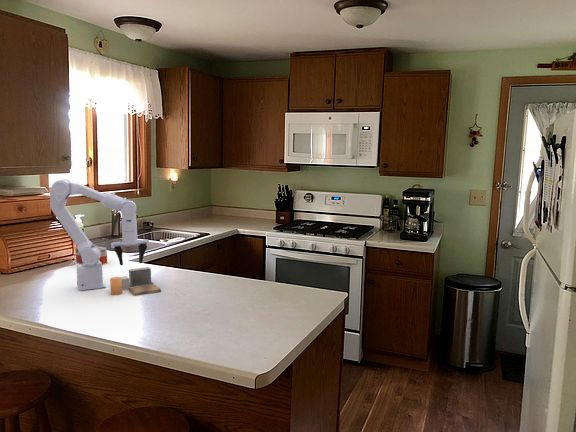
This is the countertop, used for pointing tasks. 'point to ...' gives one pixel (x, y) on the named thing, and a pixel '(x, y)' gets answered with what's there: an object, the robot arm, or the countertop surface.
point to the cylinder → (116, 285)
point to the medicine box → (102, 259)
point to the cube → (125, 283)
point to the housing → (140, 276)
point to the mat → (144, 289)
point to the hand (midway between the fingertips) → (131, 263)
